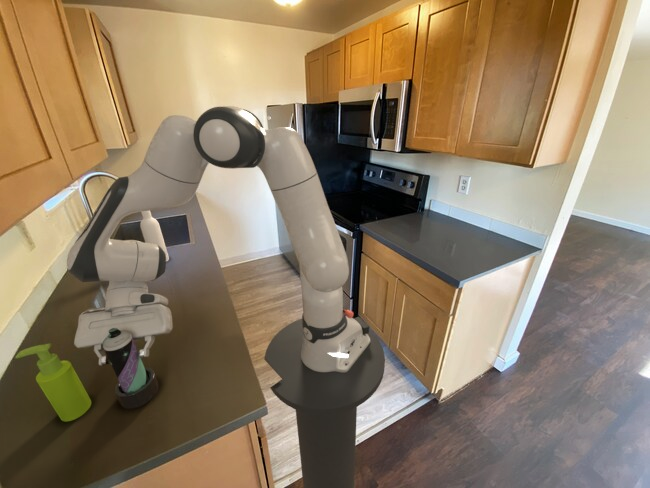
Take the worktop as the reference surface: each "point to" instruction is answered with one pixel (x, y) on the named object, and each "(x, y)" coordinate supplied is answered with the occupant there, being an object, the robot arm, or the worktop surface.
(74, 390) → the soap dispenser
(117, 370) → the spray can
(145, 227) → the bottle
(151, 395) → the dark round bowl
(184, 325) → the worktop surface
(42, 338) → the worktop surface
